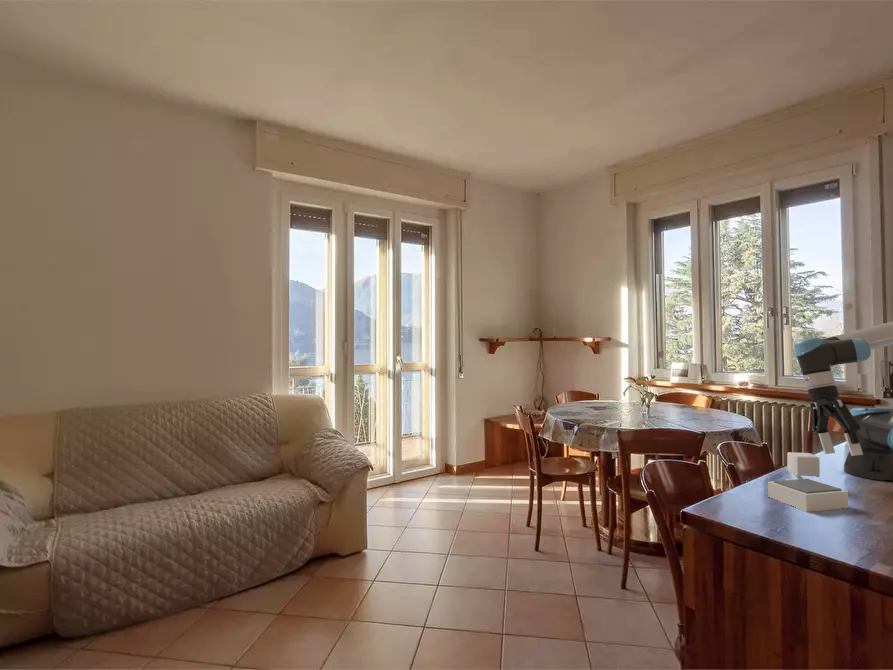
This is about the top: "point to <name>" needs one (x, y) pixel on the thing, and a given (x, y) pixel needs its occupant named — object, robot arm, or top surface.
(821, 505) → the cream gray-topped block
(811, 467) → the security camera
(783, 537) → the top surface
